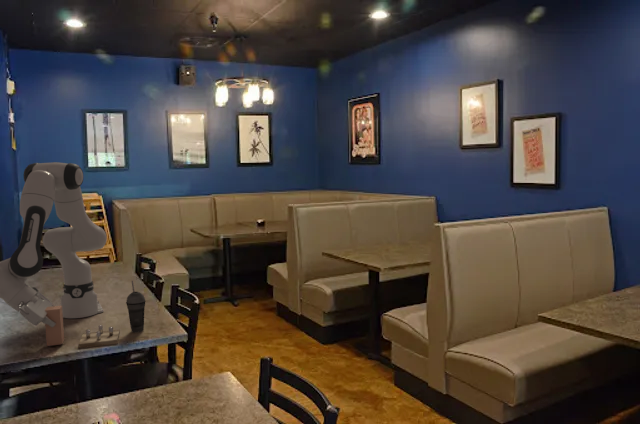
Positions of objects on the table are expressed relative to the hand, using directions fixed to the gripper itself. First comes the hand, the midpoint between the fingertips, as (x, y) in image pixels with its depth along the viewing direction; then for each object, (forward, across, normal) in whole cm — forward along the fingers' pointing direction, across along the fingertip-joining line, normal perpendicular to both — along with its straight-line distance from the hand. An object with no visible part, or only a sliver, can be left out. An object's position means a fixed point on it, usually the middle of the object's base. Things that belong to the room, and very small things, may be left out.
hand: (56, 322), depth 191 cm
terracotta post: (+5, 0, +6) cm, 7 cm away
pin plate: (+16, 0, -4) cm, 17 cm away
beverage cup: (+26, +7, -13) cm, 30 cm away
